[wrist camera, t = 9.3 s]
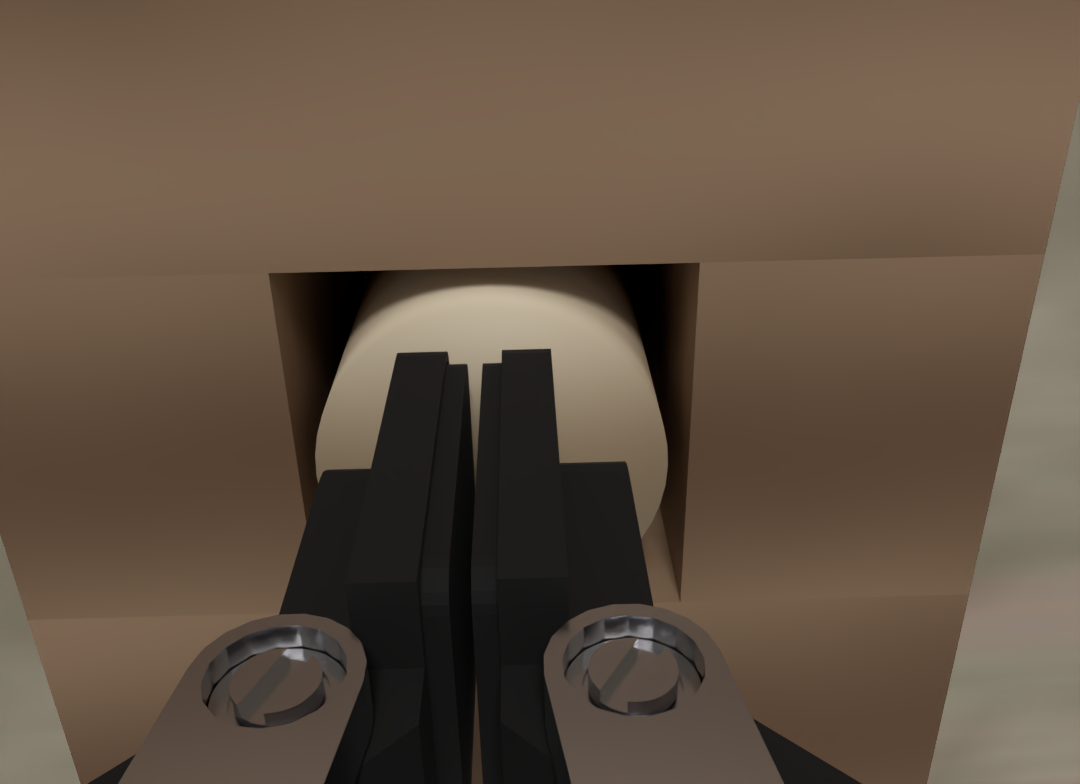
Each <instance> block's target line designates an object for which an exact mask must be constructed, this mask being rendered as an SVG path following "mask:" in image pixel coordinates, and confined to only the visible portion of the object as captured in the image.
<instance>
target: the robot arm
mask: <svg viewBox="0 0 1080 784" xmlns="http://www.w3.org/2000/svg"><path fill="white" fill-rule="evenodd" d="M476 684H477V699H478V715H479V731H480V746H481V762H482V778H483V784H862V783H860V782H858V781H857V780H855V779H853V778H852V777H850V776H848V775H847V774H845V773H843V772H842V771H840V770H838V769H837V768H835V767H833V766H832V765H830V764H828V763H827V762H825V761H823V760H822V759H820V758H818V757H817V756H815V755H813V754H812V753H810V752H808V751H807V750H805V749H803V748H802V747H800V746H798V745H797V744H795V743H793V742H792V741H790V740H788V739H787V738H785V737H783V736H782V735H780V734H778V733H777V732H775V731H773V730H772V729H770V728H768V727H767V726H765V725H763V724H762V723H760V722H758V721H757V720H755V719H753V718H752V715H751V713H750V711H749V709H748V707H747V705H746V703H745V701H744V699H743V697H742V695H741V692H740V690H739V688H738V686H737V684H736V682H735V680H734V678H733V676H732V674H731V671H730V669H729V667H728V665H727V663H726V661H725V659H724V657H723V655H722V653H721V651H720V649H719V648H718V646H717V645H716V644H715V642H714V641H713V639H712V638H711V637H710V635H709V634H708V633H707V632H706V631H705V630H703V629H702V628H701V627H699V626H698V625H697V624H695V623H694V622H693V621H691V620H690V619H689V618H686V617H684V616H682V615H679V614H677V613H674V612H672V611H670V610H667V609H665V608H659V607H654V605H653V600H652V594H651V589H650V584H649V578H648V573H647V567H646V562H645V557H644V551H643V546H642V540H641V535H640V530H639V524H638V519H637V513H636V508H635V503H634V497H633V492H632V486H631V481H630V476H629V470H628V466H627V463H626V462H625V461H616V462H581V463H560V460H559V447H558V434H557V421H556V408H555V395H554V382H553V369H552V356H551V349H519V350H502V363H483V365H482V382H481V400H480V417H479V435H478V452H477V470H476V488H475V478H474V461H473V443H472V426H471V409H470V391H469V375H468V366H467V364H450V363H449V356H448V352H447V351H445V352H408V353H397V355H396V359H395V364H394V368H393V373H392V377H391V381H390V386H389V390H388V395H387V399H386V404H385V408H384V412H383V417H382V421H381V426H380V430H379V435H378V439H377V444H376V448H375V452H374V457H373V461H372V466H371V468H370V469H334V470H325V471H323V473H322V475H321V478H320V480H319V483H318V487H317V490H316V493H315V496H314V500H313V503H312V506H311V510H310V513H309V516H308V520H307V523H306V526H305V530H304V533H303V536H302V540H301V543H300V546H299V550H298V553H297V556H296V559H295V563H294V566H293V569H292V573H291V576H290V579H289V583H288V586H287V589H286V593H285V596H284V599H283V602H282V606H281V609H280V612H279V615H274V616H270V617H266V618H262V619H257V620H253V621H250V622H248V623H245V624H243V625H241V626H239V627H236V628H234V629H232V630H230V631H228V632H225V633H224V634H223V635H221V636H220V637H219V638H217V639H216V640H214V641H213V642H212V643H210V644H209V645H208V646H206V647H205V648H204V649H203V650H202V651H201V652H200V653H199V655H198V656H197V657H196V658H195V659H194V661H193V662H192V663H191V664H190V666H189V667H188V668H187V670H186V672H185V673H184V675H183V677H182V678H181V680H180V682H179V683H178V685H177V687H176V688H175V690H174V692H173V693H172V695H171V697H170V698H169V700H168V702H167V703H166V705H165V707H164V708H163V710H162V712H161V713H160V715H159V717H158V718H157V720H156V721H155V723H154V725H153V726H152V728H151V730H150V731H149V733H148V735H147V736H146V738H145V740H144V741H143V743H142V745H141V746H140V748H139V750H138V751H137V753H136V754H135V755H133V756H132V757H130V758H128V759H127V760H125V761H124V762H122V763H120V764H119V765H117V766H115V767H114V768H112V769H111V770H109V771H107V772H106V773H104V774H102V775H101V776H99V777H98V778H96V779H94V780H93V781H91V782H89V783H88V784H472V762H473V739H474V715H475V692H476Z"/></svg>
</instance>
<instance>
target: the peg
mask: <svg viewBox="0 0 1080 784" xmlns="http://www.w3.org/2000/svg"><path fill="white" fill-rule="evenodd" d="M519 349H551V356H552V369H553V382H554V395H555V408H556V421H557V434H558V447H559V460H560V463H581V462H616V461H625V462H626V463H627V466H628V470H629V476H630V481H631V486H632V492H633V497H634V503H635V508H636V513H637V519H638V524H639V530H640V535H641V538H642V537H643V535H644V534H645V532H646V531H647V529H648V527H649V526H650V524H651V523H652V521H653V519H654V517H655V514H656V512H657V510H658V508H659V505H660V503H661V499H662V496H663V492H664V489H665V485H666V477H667V469H668V450H667V441H666V436H665V430H664V425H663V421H662V417H661V414H660V410H659V406H658V402H657V398H656V394H655V390H654V386H653V382H652V378H651V374H650V370H649V366H648V362H647V358H646V354H645V350H644V347H643V343H642V339H641V335H640V331H639V327H638V323H637V319H636V315H635V311H634V307H633V303H632V299H631V295H630V291H629V287H628V283H627V280H626V276H625V272H624V268H623V265H585V266H544V267H503V268H462V269H422V270H381V271H372V272H371V275H370V278H369V281H368V283H367V286H366V289H365V292H364V295H363V298H362V301H361V304H360V307H359V310H358V312H357V315H356V318H355V321H354V324H353V327H352V330H351V333H350V336H349V339H348V341H347V344H346V347H345V350H344V353H343V356H342V359H341V362H340V365H339V367H338V370H337V373H336V376H335V379H334V382H333V385H332V388H331V391H330V394H329V396H328V399H327V402H326V405H325V408H324V411H323V414H322V417H321V421H320V425H319V429H318V433H317V441H316V452H315V460H316V475H317V479H318V483H319V480H320V478H321V475H322V473H323V471H325V470H334V469H370V468H371V466H372V461H373V457H374V452H375V448H376V444H377V439H378V435H379V430H380V426H381V421H382V417H383V412H384V408H385V404H386V399H387V395H388V390H389V386H390V381H391V377H392V373H393V368H394V364H395V359H396V355H397V353H408V352H445V351H447V352H448V356H449V363H450V364H467V366H468V375H469V391H470V409H471V426H472V443H473V461H474V478H475V488H476V470H477V452H478V435H479V417H480V400H481V382H482V365H483V363H502V350H519Z"/></svg>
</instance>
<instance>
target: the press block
mask: <svg viewBox="0 0 1080 784" xmlns="http://www.w3.org/2000/svg"><path fill="white" fill-rule="evenodd" d="M1079 98H1080V0H0V534H1V538H2V541H3V544H4V547H5V550H6V553H7V556H8V559H9V562H10V565H11V569H12V572H13V575H14V578H15V581H16V584H17V587H18V590H19V593H20V597H21V600H22V603H23V606H24V609H25V612H26V615H27V618H28V621H29V624H30V628H31V631H32V634H33V637H34V640H35V643H36V646H37V649H38V652H39V655H40V659H41V662H42V665H43V668H44V671H45V674H46V677H47V680H48V683H49V686H50V690H51V693H52V696H53V699H54V702H55V705H56V708H57V711H58V714H59V717H60V721H61V724H62V727H63V730H64V733H65V736H66V739H67V742H68V745H69V749H70V752H71V755H72V758H73V761H74V764H75V767H76V770H77V773H78V776H79V780H80V783H81V784H88V783H89V782H91V781H93V780H94V779H96V778H98V777H99V776H101V775H102V774H104V773H106V772H107V771H109V770H111V769H112V768H114V767H115V766H117V765H119V764H120V763H122V762H124V761H125V760H127V759H128V758H130V757H132V756H133V755H135V754H136V753H137V751H138V750H139V748H140V746H141V745H142V743H143V741H144V740H145V738H146V736H147V735H148V733H149V731H150V730H151V728H152V726H153V725H154V723H155V721H156V720H157V718H158V717H159V715H160V713H161V712H162V710H163V708H164V707H165V705H166V703H167V702H168V700H169V698H170V697H171V695H172V693H173V692H174V690H175V688H176V687H177V685H178V683H179V682H180V680H181V678H182V677H183V675H184V673H185V672H186V670H187V668H188V667H189V666H190V664H191V663H192V662H193V661H194V659H195V658H196V657H197V656H198V655H199V653H200V652H201V651H202V650H203V649H204V648H205V647H206V646H208V645H209V644H210V643H212V642H213V641H214V640H216V639H217V638H219V637H220V636H221V635H223V634H224V633H225V632H228V631H230V630H232V629H234V628H236V627H239V626H241V625H243V624H245V623H248V622H250V621H253V620H257V619H262V618H266V617H270V616H274V615H279V612H280V609H281V606H282V602H283V599H284V596H285V593H286V589H287V586H288V583H289V579H290V576H291V573H292V569H293V566H294V563H295V559H296V556H297V553H298V550H299V546H300V543H301V540H302V536H303V533H304V530H305V526H306V523H307V520H308V516H309V513H310V510H311V506H312V503H313V500H314V496H315V493H316V490H317V487H318V479H317V475H316V460H315V452H316V441H317V433H318V429H319V425H320V421H321V417H322V414H323V411H324V408H325V405H326V402H327V399H328V396H329V394H330V391H331V388H332V385H333V382H334V379H335V376H336V373H337V370H338V367H339V365H340V362H341V359H342V356H343V353H344V350H345V347H346V344H347V341H348V339H349V336H350V333H351V330H352V327H353V324H354V321H355V318H356V315H357V312H358V310H359V307H360V304H361V301H362V298H363V295H364V292H365V289H366V285H365V275H364V271H381V270H422V269H462V268H503V267H544V266H585V265H625V264H637V273H636V310H635V315H636V319H637V323H638V327H639V331H640V335H641V339H642V343H643V347H644V350H645V354H646V358H647V362H648V366H649V370H650V374H651V378H652V382H653V386H654V390H655V394H656V398H657V402H658V406H659V410H660V414H661V417H662V421H663V425H664V430H665V436H666V441H667V450H668V469H667V477H666V485H665V489H664V492H663V496H662V499H661V503H660V505H659V508H658V510H657V512H656V514H655V517H654V519H653V521H652V523H651V524H650V526H649V527H648V529H647V531H646V532H645V534H644V535H643V537H642V538H641V540H642V546H643V551H644V557H645V562H646V567H647V573H648V578H649V584H650V589H651V594H652V600H653V605H654V607H659V608H665V609H667V610H670V611H672V612H674V613H677V614H679V615H682V616H684V617H686V618H689V619H690V620H691V621H693V622H694V623H695V624H697V625H698V626H699V627H701V628H702V629H703V630H705V631H706V632H707V633H708V634H709V635H710V637H711V638H712V639H713V641H714V642H715V644H716V645H717V646H718V648H719V649H720V651H721V653H722V655H723V657H724V659H725V661H726V663H727V665H728V667H729V669H730V671H731V674H732V676H733V678H734V680H735V682H736V684H737V686H738V688H739V690H740V692H741V695H742V697H743V699H744V701H745V703H746V705H747V707H748V709H749V711H750V713H751V715H752V718H753V719H755V720H757V721H758V722H760V723H762V724H763V725H765V726H767V727H768V728H770V729H772V730H773V731H775V732H777V733H778V734H780V735H782V736H783V737H785V738H787V739H788V740H790V741H792V742H793V743H795V744H797V745H798V746H800V747H802V748H803V749H805V750H807V751H808V752H810V753H812V754H813V755H815V756H817V757H818V758H820V759H822V760H823V761H825V762H827V763H828V764H830V765H832V766H833V767H835V768H837V769H838V770H840V771H842V772H843V773H845V774H847V775H848V776H850V777H852V778H853V779H855V780H857V781H858V782H860V783H862V784H927V780H928V776H929V771H930V767H931V762H932V758H933V753H934V749H935V744H936V740H937V735H938V731H939V726H940V722H941V717H942V713H943V708H944V704H945V700H946V695H947V691H948V686H949V682H950V677H951V673H952V668H953V664H954V659H955V655H956V650H957V646H958V641H959V637H960V632H961V628H962V623H963V619H964V614H965V610H966V605H967V601H968V596H969V592H970V587H971V583H972V578H973V574H974V569H975V565H976V560H977V556H978V551H979V547H980V542H981V538H982V534H983V529H984V525H985V520H986V516H987V511H988V507H989V502H990V498H991V493H992V489H993V484H994V480H995V475H996V471H997V466H998V462H999V457H1000V453H1001V448H1002V444H1003V439H1004V435H1005V430H1006V426H1007V421H1008V417H1009V412H1010V408H1011V403H1012V399H1013V394H1014V390H1015V385H1016V381H1017V377H1018V372H1019V368H1020V363H1021V359H1022V354H1023V350H1024V345H1025V341H1026V336H1027V332H1028V327H1029V323H1030V318H1031V314H1032V309H1033V305H1034V300H1035V296H1036V291H1037V287H1038V282H1039V278H1040V273H1041V269H1042V264H1043V260H1044V255H1045V251H1046V246H1047V242H1048V237H1049V233H1050V228H1051V224H1052V220H1053V215H1054V211H1055V206H1056V202H1057V197H1058V193H1059V188H1060V184H1061V179H1062V175H1063V170H1064V166H1065V161H1066V157H1067V152H1068V148H1069V143H1070V139H1071V134H1072V130H1073V125H1074V121H1075V116H1076V112H1077V107H1078V103H1079ZM472 784H483V778H482V762H481V746H480V731H479V715H478V699H477V684H476V692H475V715H474V739H473V762H472Z"/></svg>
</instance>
